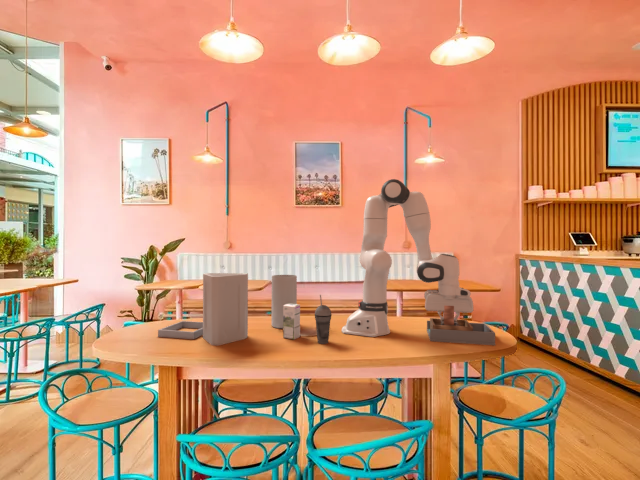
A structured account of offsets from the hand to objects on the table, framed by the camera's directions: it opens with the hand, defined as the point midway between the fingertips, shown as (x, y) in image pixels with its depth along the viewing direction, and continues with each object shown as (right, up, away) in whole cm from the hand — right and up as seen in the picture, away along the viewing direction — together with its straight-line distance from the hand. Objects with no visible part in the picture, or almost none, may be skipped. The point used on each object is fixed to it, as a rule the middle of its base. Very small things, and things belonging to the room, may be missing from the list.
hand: (448, 321), depth 154 cm
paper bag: (-100, -7, -6) cm, 100 cm away
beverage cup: (-56, -7, -9) cm, 57 cm away
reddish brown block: (0, -5, 0) cm, 5 cm away
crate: (+1, -6, 0) cm, 6 cm away
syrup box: (-70, -7, -2) cm, 70 cm away
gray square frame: (-118, -7, +5) cm, 119 cm away
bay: (+4, -7, -1) cm, 8 cm away
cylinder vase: (-75, -7, +19) cm, 78 cm away
